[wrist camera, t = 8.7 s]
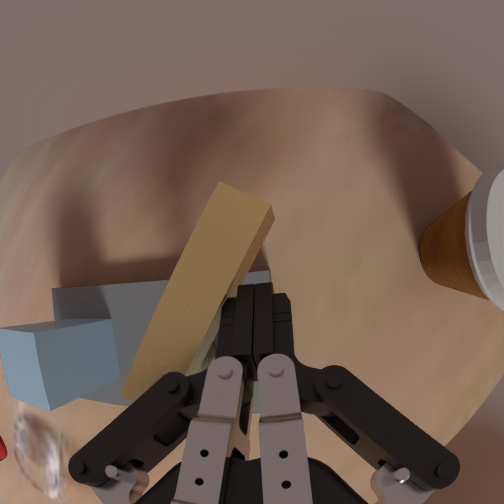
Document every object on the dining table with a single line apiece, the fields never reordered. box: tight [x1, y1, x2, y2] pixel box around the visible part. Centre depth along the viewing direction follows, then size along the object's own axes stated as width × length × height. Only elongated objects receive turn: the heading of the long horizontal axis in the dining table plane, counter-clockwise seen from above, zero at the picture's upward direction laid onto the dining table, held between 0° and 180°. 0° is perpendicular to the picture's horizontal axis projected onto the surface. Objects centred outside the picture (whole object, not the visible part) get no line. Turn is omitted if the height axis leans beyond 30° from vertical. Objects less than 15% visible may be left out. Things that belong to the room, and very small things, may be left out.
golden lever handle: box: [121, 181, 275, 403], centre depth 17 cm, size 11×2×11 cm, turn 153°
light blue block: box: [0, 319, 120, 411], centre depth 19 cm, size 6×6×10 cm
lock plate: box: [52, 270, 271, 413], centre depth 23 cm, size 23×12×4 cm, turn 96°
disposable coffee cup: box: [420, 165, 504, 311], centre depth 17 cm, size 10×10×12 cm
